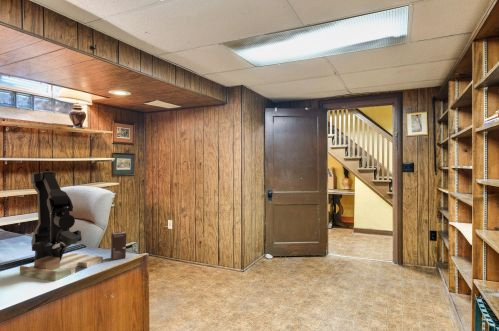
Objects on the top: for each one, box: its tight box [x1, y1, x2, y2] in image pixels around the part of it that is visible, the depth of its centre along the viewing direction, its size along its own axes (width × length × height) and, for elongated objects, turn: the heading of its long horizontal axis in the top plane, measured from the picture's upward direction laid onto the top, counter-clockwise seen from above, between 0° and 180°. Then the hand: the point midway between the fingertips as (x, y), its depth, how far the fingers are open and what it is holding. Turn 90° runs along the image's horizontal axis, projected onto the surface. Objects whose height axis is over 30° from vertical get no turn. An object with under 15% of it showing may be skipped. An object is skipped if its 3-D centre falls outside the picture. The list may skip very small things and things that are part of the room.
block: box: [33, 256, 60, 271], centre depth 121 cm, size 6×6×4 cm
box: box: [110, 230, 127, 261], centre depth 142 cm, size 6×4×12 cm
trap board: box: [19, 252, 104, 282], centre depth 128 cm, size 18×24×4 cm
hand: (58, 262), depth 125 cm, fingers closed
